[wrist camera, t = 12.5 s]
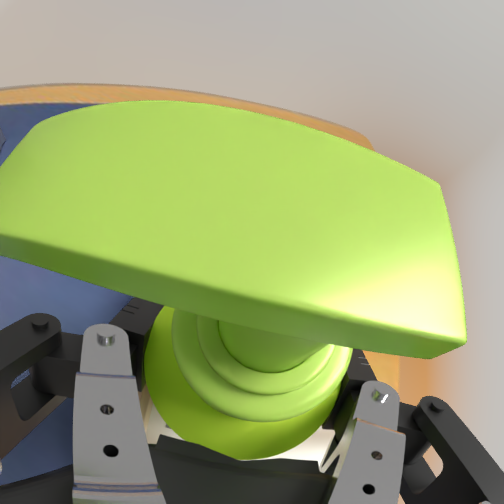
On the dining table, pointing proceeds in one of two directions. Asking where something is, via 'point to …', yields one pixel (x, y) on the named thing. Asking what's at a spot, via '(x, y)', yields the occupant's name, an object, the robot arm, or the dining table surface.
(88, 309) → the dining table surface
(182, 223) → the soap dispenser
